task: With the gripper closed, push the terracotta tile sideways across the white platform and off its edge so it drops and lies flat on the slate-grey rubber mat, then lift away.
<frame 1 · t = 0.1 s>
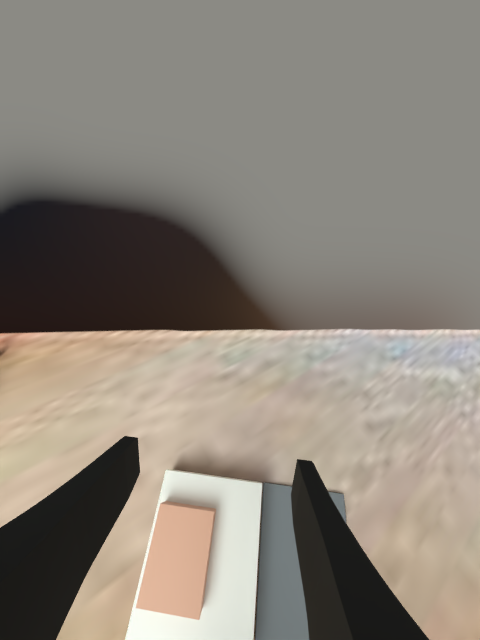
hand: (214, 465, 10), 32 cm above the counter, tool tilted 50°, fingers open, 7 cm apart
white platform: (206, 543, 33), on the counter
tile: (180, 552, 28), point 5 cm above the counter, touching white platform
mat: (303, 560, 32), on the counter
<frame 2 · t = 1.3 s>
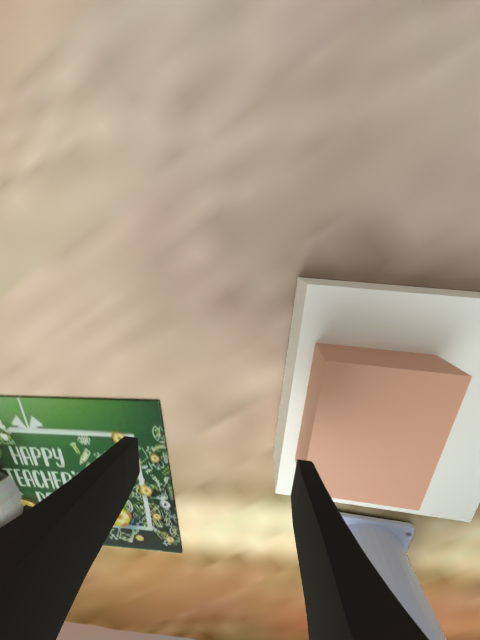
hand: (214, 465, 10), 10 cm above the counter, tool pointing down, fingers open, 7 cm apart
white platform: (371, 383, 19), on the counter
tile: (366, 425, 14), point 5 cm above the counter, touching white platform
decorative card: (36, 468, 27), on the counter
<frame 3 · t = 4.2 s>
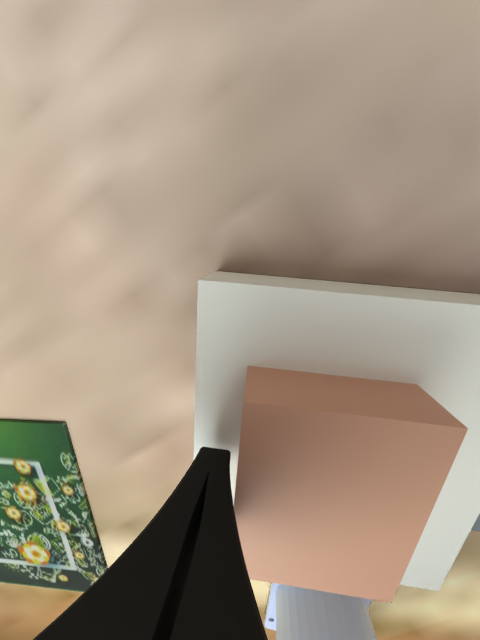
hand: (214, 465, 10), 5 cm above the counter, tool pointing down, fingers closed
white platform: (319, 407, 15), on the counter
tile: (318, 483, 10), point 5 cm above the counter, touching white platform, gripper
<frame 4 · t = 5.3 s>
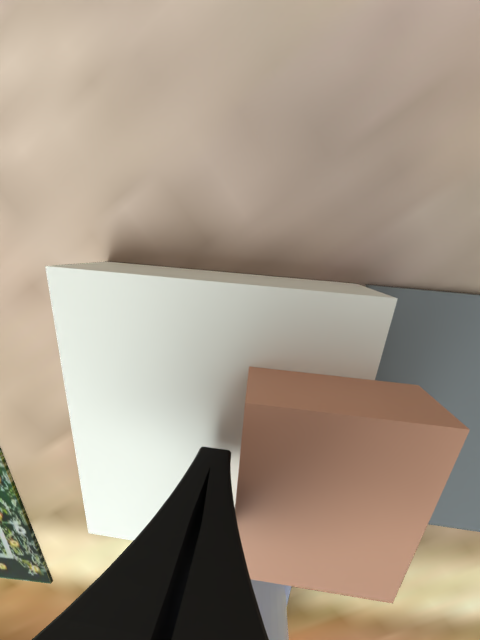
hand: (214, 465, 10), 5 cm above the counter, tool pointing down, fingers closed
white platform: (219, 395, 15), on the counter
tile: (320, 483, 10), point 5 cm above the counter, touching white platform
mat: (435, 422, 14), on the counter
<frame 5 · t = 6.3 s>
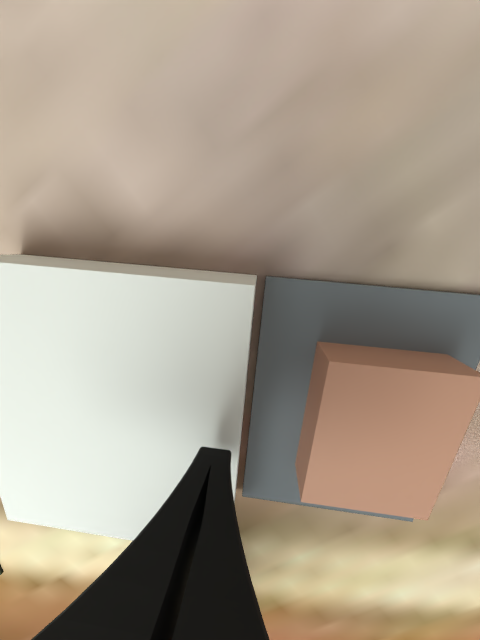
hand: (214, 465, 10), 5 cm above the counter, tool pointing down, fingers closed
white platform: (141, 386, 16), on the counter
tile: (372, 430, 13), point 2 cm above the counter, tilted 180°, touching mat
mat: (346, 411, 15), on the counter
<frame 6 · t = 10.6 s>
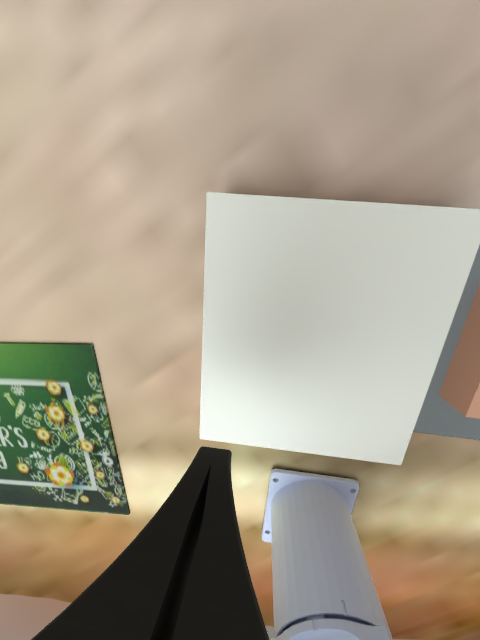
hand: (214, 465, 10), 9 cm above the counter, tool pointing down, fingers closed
white platform: (305, 326, 18), on the counter
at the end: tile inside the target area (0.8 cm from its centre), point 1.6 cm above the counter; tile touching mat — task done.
